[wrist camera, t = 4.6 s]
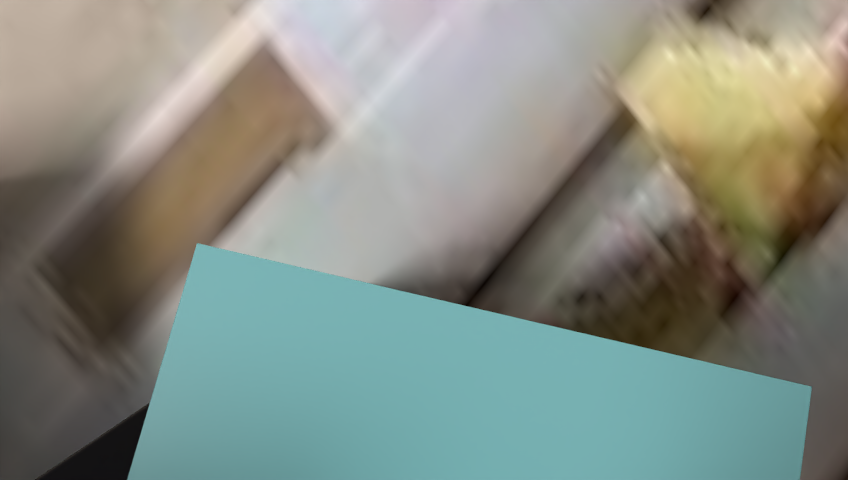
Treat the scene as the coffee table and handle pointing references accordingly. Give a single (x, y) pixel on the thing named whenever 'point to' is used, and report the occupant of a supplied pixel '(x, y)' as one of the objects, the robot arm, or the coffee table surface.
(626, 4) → the coffee table surface
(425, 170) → the coffee table surface
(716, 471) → the lid
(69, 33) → the coffee table surface
